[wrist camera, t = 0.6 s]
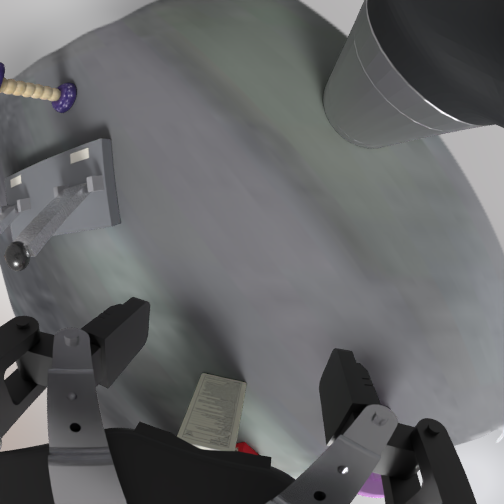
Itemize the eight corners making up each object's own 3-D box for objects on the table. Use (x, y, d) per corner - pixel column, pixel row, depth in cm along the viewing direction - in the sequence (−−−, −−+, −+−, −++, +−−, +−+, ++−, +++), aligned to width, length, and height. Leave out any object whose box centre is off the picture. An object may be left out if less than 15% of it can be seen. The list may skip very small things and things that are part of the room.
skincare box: (199, 392, 36) (173, 458, 24) (202, 370, 35) (172, 439, 23) (243, 403, 36) (229, 472, 24) (249, 381, 34) (234, 454, 23)
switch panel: (120, 223, 31) (101, 230, 27) (22, 240, 34) (4, 246, 30) (111, 139, 28) (90, 137, 24) (13, 177, 31) (-5, 180, 27)
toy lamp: (51, 116, 28) (-46, 109, 12) (55, 85, 27) (-37, 67, 11) (75, 109, 27) (-28, 94, 12) (79, 77, 26) (-17, 49, 10)
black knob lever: (96, 194, 28) (28, 277, 18) (72, 200, 29) (7, 277, 18) (88, 174, 26) (13, 252, 16) (64, 181, 27) (-8, 255, 17)
